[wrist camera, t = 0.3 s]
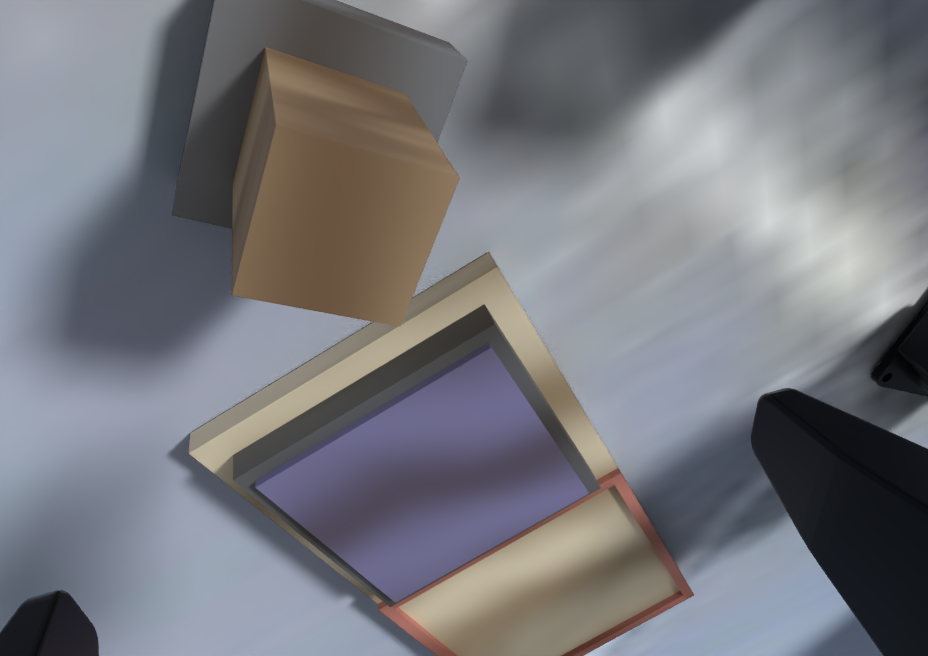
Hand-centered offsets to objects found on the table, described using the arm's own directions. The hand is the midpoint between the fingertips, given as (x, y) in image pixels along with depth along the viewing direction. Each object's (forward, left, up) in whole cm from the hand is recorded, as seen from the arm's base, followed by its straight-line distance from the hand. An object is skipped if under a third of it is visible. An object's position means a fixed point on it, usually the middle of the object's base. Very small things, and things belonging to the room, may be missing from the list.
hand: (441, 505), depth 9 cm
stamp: (+1, 0, -14) cm, 14 cm away
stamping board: (-11, +15, -14) cm, 23 cm away
